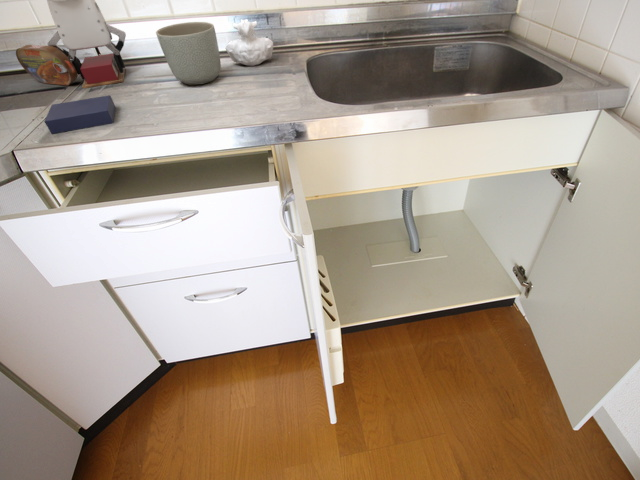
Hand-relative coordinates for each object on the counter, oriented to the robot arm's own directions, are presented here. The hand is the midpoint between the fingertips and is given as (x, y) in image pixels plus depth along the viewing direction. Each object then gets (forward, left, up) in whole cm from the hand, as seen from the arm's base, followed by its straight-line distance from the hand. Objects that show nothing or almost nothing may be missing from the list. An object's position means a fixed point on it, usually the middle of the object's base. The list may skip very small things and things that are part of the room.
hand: (103, 73), depth 97 cm
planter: (+22, -14, -1) cm, 26 cm away
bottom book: (-2, -27, -1) cm, 27 cm away
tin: (-10, +2, -1) cm, 11 cm away
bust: (+36, -8, -1) cm, 37 cm away
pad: (0, 0, -1) cm, 1 cm away
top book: (0, 0, 0) cm, 0 cm away
